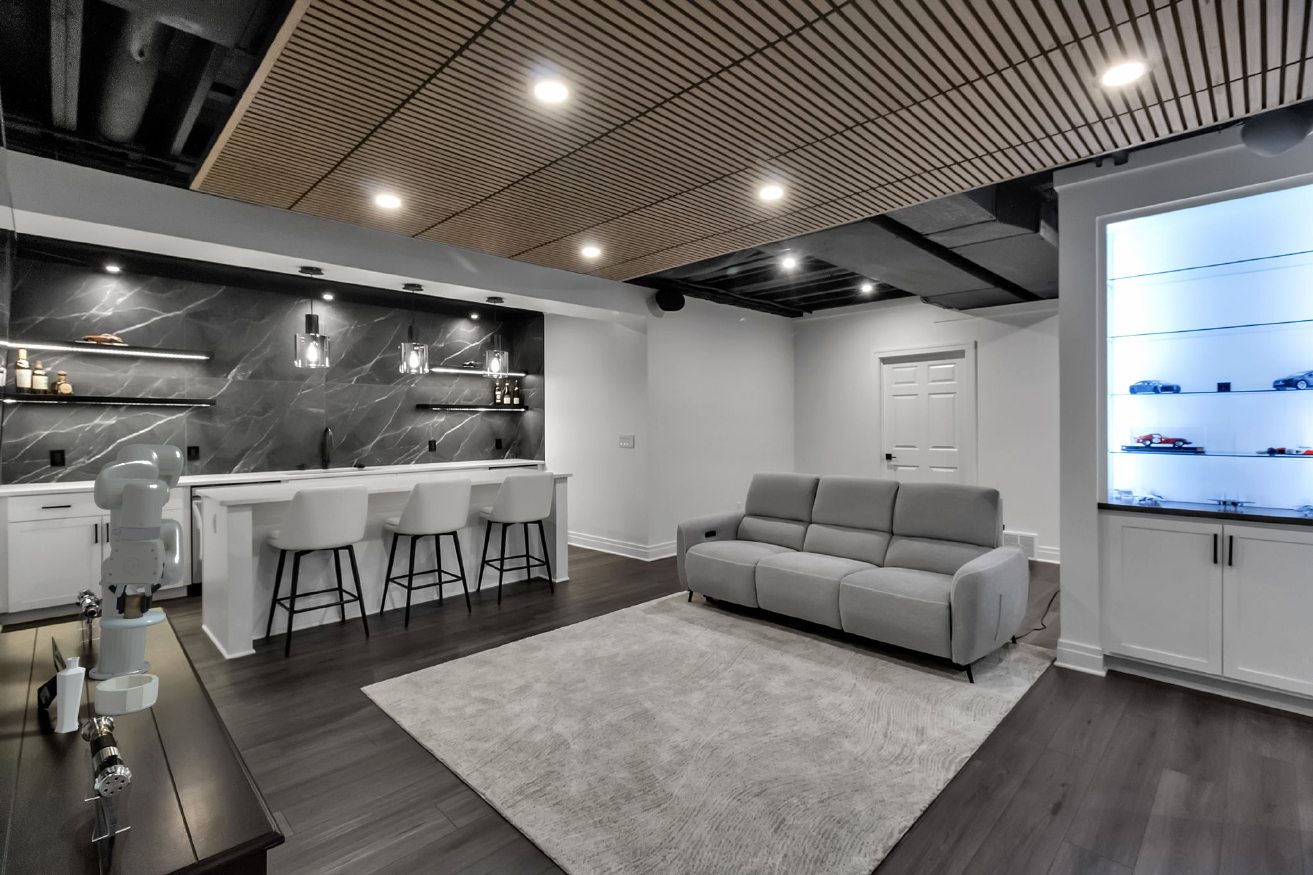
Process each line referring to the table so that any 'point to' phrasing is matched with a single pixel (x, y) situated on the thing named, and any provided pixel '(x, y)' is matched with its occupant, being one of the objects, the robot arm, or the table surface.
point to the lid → (132, 615)
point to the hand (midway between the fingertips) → (133, 611)
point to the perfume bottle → (69, 695)
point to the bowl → (126, 694)
